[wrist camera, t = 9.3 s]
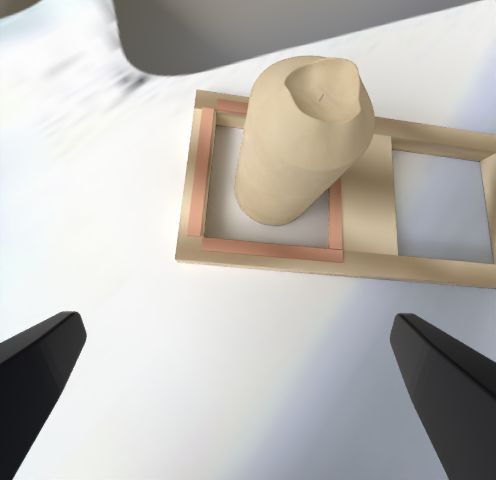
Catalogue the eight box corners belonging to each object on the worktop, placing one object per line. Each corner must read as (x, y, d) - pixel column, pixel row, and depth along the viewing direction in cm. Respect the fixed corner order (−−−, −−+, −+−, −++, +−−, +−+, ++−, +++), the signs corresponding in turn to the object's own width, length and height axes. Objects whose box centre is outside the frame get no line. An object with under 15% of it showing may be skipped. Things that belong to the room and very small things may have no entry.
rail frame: (515, 290, 20) (541, 289, 19) (177, 262, 18) (174, 258, 16) (493, 147, 23) (515, 136, 22) (197, 104, 20) (196, 87, 19)
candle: (273, 142, 21) (327, 1, 11) (323, 195, 20) (425, 98, 10) (218, 184, 19) (222, 67, 10) (269, 242, 19) (328, 181, 9)
